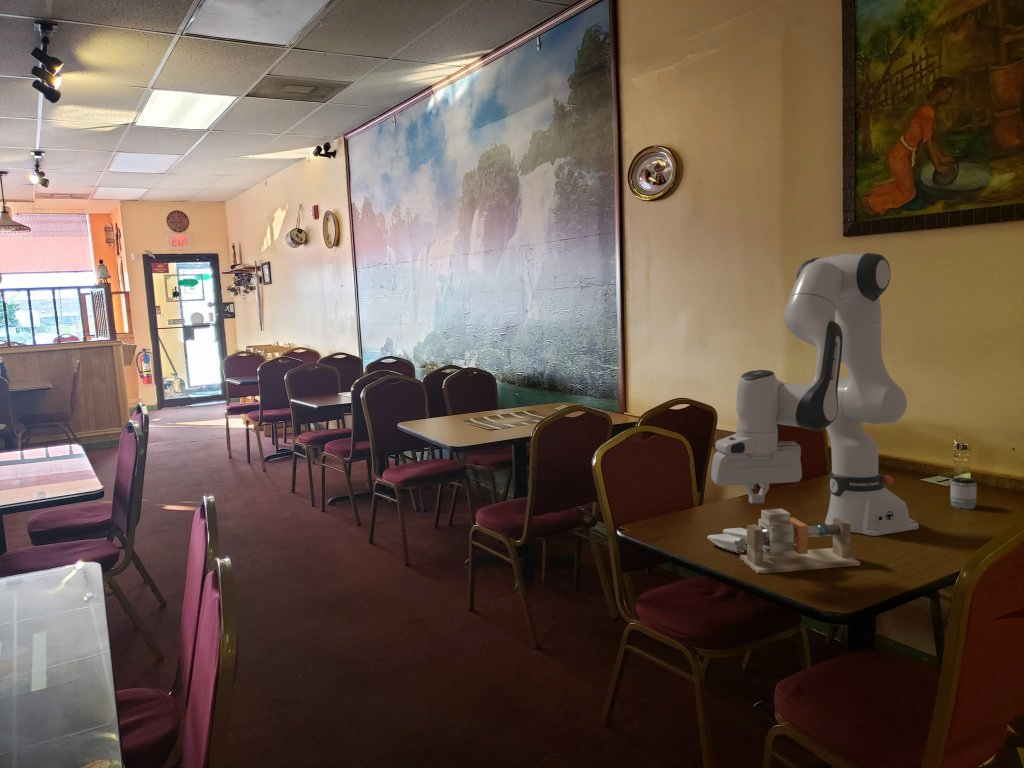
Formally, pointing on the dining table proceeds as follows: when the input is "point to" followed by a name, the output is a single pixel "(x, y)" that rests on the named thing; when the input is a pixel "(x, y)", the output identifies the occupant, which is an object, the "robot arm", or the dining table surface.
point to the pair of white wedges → (731, 539)
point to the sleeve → (777, 533)
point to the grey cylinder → (963, 493)
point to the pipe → (812, 531)
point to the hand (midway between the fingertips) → (756, 502)
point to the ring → (800, 536)
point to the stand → (812, 560)
